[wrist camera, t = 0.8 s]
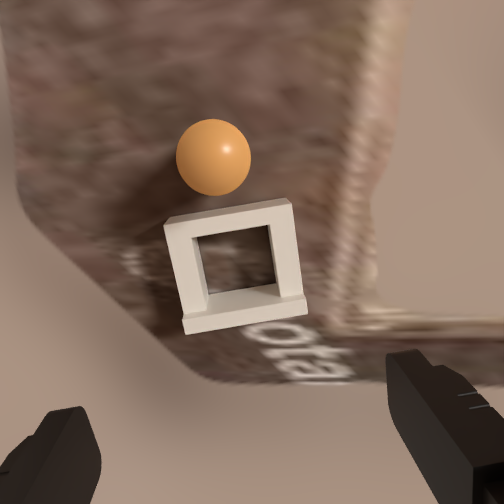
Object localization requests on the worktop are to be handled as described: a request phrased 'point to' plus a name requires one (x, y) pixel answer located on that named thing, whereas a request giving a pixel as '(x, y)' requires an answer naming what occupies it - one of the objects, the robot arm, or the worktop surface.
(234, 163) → the orange capsule
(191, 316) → the housing
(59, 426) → the robot arm
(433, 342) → the worktop surface
